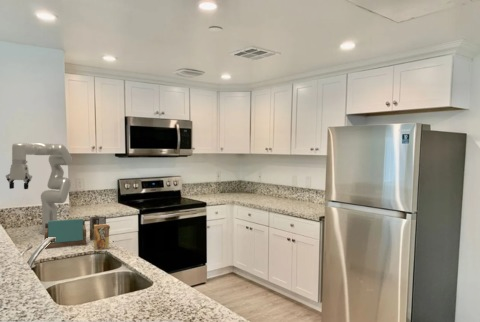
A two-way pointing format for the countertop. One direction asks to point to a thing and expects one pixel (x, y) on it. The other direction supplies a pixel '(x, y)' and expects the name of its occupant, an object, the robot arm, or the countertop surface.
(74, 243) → the hinged box
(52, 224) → the panel
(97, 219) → the coffee box
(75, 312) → the countertop surface
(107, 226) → the candy box
